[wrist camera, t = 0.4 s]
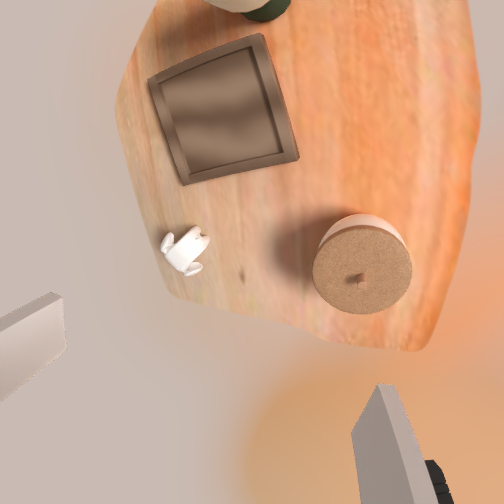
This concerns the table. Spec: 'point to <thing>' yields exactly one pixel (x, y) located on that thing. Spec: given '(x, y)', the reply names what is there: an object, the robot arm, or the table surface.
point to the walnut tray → (224, 111)
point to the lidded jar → (362, 265)
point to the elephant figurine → (185, 250)
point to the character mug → (253, 8)
